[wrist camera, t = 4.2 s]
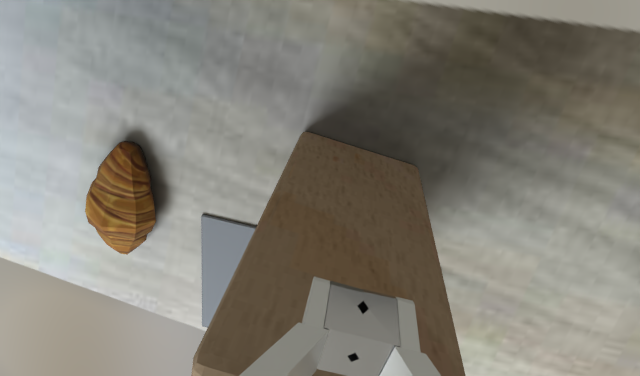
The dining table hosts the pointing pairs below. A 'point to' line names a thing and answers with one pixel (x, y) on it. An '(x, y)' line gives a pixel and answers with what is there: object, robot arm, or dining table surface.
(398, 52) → the dining table surface
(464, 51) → the dining table surface
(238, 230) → the felt mat
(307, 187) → the wooden block
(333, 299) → the robot arm
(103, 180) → the croissant
